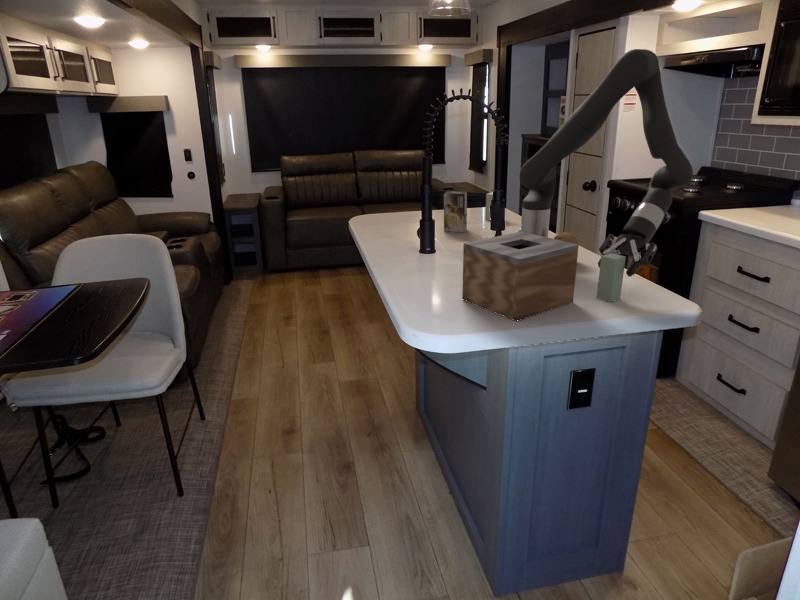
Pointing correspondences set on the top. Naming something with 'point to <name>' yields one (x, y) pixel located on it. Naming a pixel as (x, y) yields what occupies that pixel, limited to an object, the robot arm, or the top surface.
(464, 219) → the coffee box
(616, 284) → the sage peg
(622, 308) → the top surface
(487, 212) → the skincare box
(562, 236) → the natural sponge
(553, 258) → the box
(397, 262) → the top surface
